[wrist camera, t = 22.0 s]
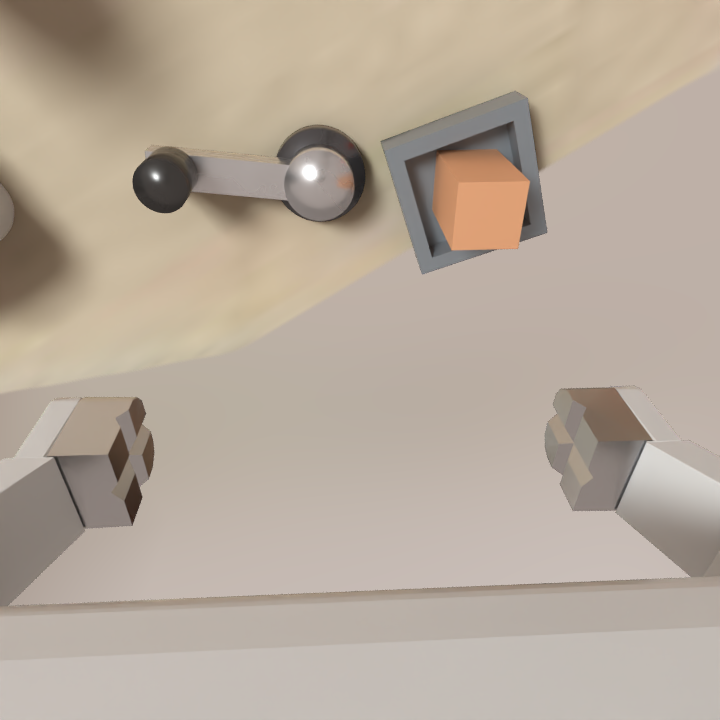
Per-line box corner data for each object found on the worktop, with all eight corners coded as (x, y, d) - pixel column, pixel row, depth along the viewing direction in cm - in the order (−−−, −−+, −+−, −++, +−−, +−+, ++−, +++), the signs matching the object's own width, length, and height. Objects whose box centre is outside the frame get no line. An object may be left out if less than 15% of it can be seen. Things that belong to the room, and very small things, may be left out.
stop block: (496, 149, 36) (529, 181, 30) (488, 208, 38) (517, 248, 32) (436, 150, 36) (458, 182, 30) (431, 209, 38) (451, 250, 32)
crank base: (346, 110, 34) (347, 114, 33) (375, 198, 38) (376, 204, 37) (259, 144, 35) (258, 148, 34) (295, 227, 39) (295, 233, 38)
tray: (515, 90, 34) (527, 97, 32) (535, 219, 39) (547, 232, 37) (380, 141, 36) (384, 150, 34) (416, 259, 41) (422, 274, 39)
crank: (356, 147, 34) (360, 167, 31) (349, 214, 37) (352, 240, 33) (149, 125, 33) (127, 144, 29) (156, 197, 35) (137, 222, 32)
